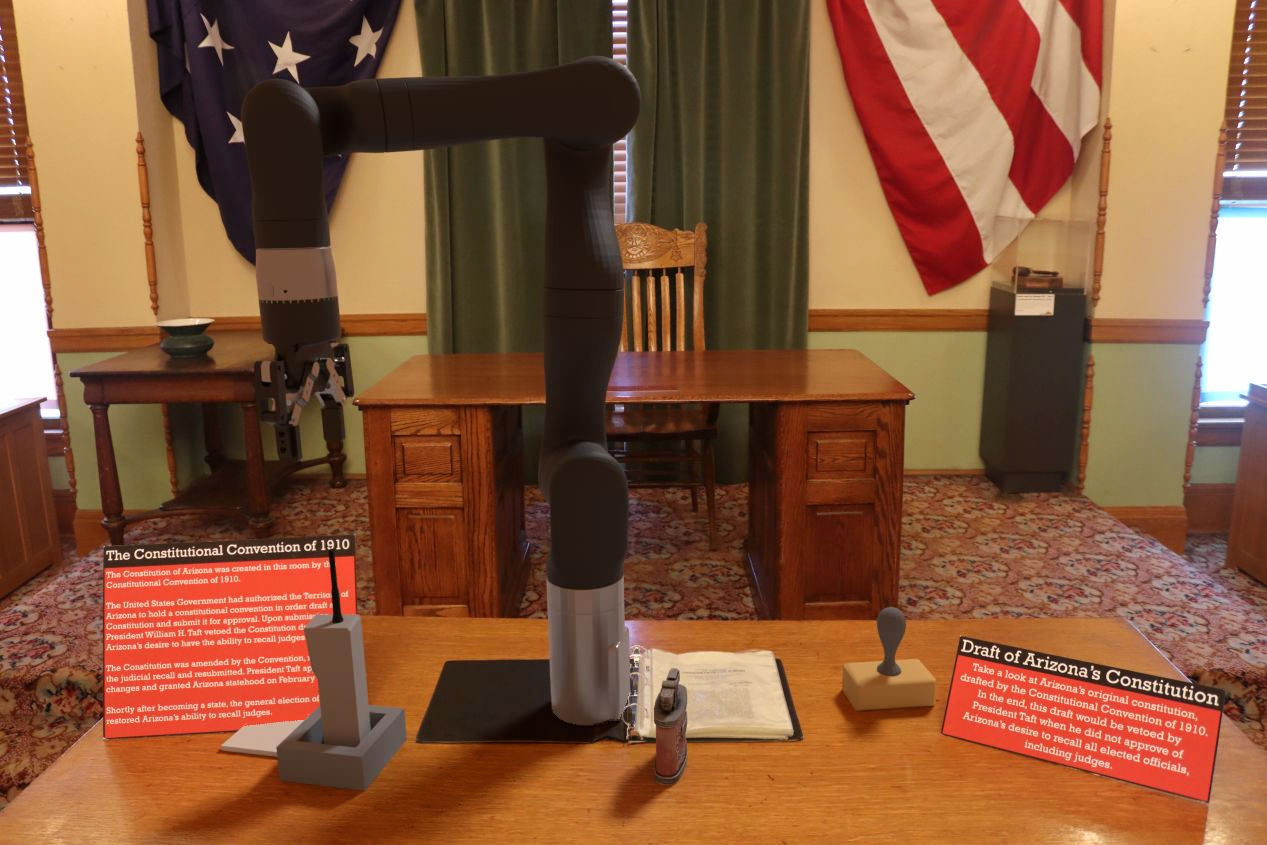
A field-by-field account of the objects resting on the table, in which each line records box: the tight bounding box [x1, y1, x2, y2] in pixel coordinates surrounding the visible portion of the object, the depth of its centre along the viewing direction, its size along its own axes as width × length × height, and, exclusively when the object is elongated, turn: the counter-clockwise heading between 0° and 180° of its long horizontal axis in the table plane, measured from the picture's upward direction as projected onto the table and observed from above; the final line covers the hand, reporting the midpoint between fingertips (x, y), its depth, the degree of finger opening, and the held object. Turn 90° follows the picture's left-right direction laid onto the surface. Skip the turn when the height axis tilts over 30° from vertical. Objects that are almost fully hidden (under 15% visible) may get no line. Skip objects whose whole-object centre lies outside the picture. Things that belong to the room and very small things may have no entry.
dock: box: [276, 704, 408, 792], centre depth 103 cm, size 10×10×4 cm
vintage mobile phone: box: [303, 548, 371, 748], centre depth 101 cm, size 4×5×25 cm
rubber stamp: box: [841, 606, 937, 712], centre depth 114 cm, size 10×6×12 cm, turn 96°
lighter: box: [653, 667, 689, 786], centre depth 101 cm, size 8×3×10 cm, turn 168°
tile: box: [220, 720, 304, 758], centre depth 109 cm, size 8×8×1 cm
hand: (314, 451), depth 96 cm, fingers open, 8 cm apart
